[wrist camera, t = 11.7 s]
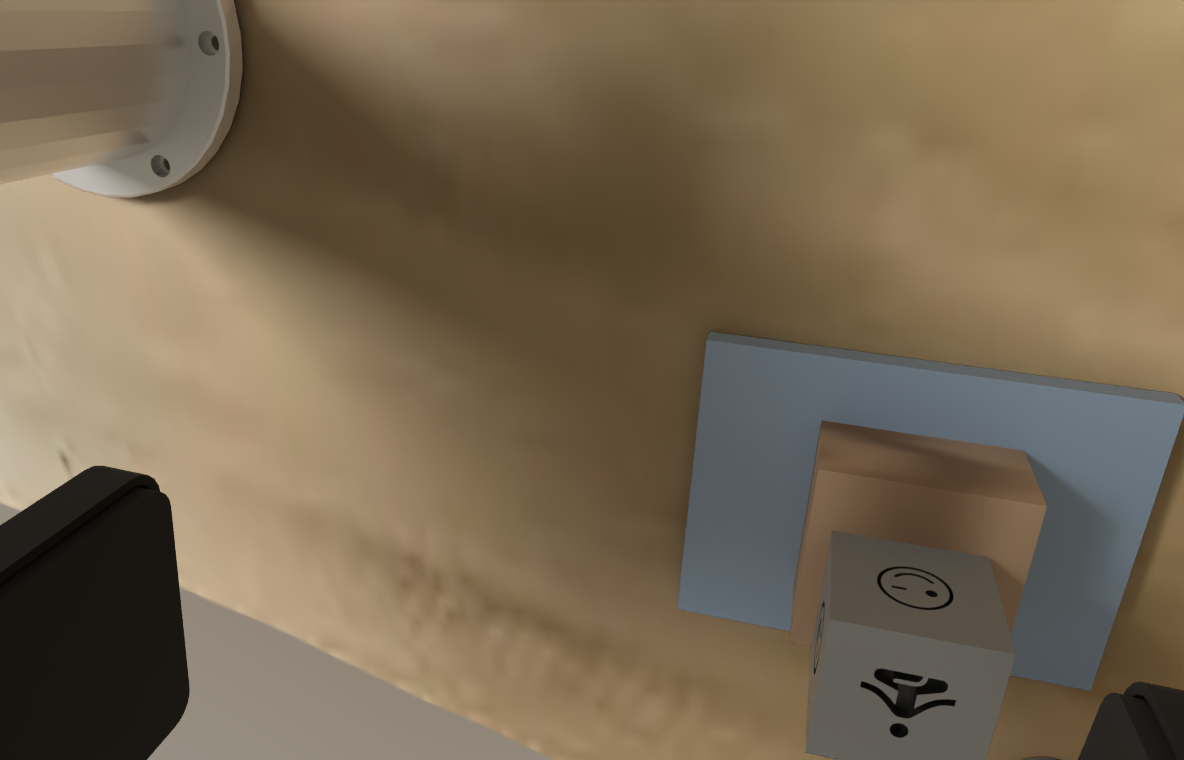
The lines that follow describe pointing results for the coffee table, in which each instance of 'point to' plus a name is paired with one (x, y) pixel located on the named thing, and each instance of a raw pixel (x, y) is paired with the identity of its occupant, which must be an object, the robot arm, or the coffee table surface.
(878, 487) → the light brown plinth
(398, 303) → the coffee table surface
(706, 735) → the coffee table surface
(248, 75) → the coffee table surface
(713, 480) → the blue board
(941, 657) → the grey symbol cube
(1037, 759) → the beverage cup
